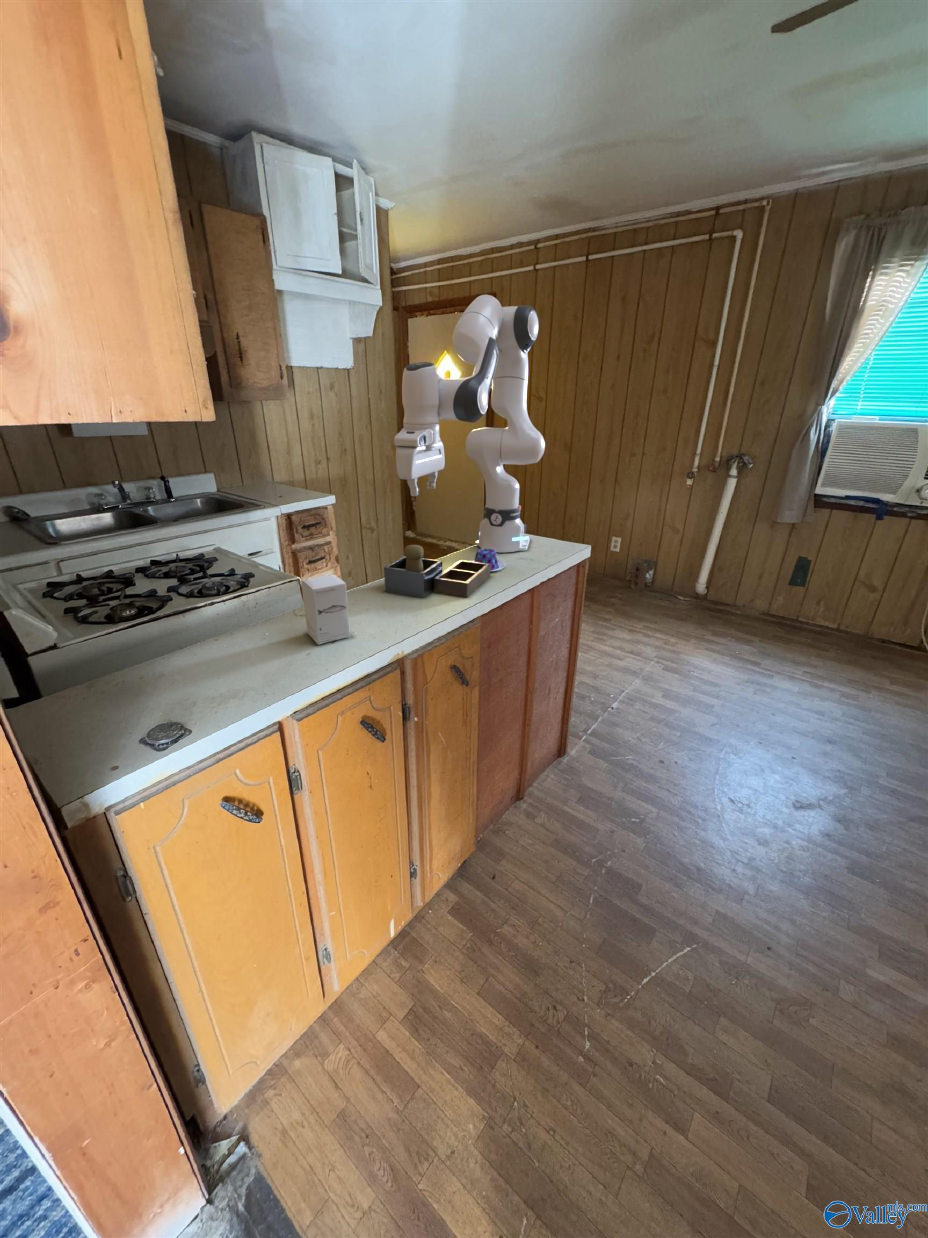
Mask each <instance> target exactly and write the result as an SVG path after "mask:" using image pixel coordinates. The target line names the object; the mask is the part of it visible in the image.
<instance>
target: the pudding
mask: <svg viewBox="0 0 928 1238" xmlns="http://www.w3.org/2000/svg"><path fill="white" fill-rule="evenodd" d="M471 561H472V562H480V563H487V564H491V572H495V571H500V570H503V569H505V567H506V563H505V562H503V561H501V560H498V555H497V552H495V550H492V549H482V548H479V549H478V550H477V551H476V552H475V556H474V559H473V560H471Z"/></svg>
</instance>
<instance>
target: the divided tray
mask: <svg viewBox="0 0 928 1238" xmlns="http://www.w3.org/2000/svg"><path fill="white" fill-rule="evenodd" d="M472 561H473V560H464V559H459V560H458V561H456V562H455V563H454V564H452V565H451V566H449V567H448V568H446V569H445V570H444V571H442V573H441V574H439V575H438V576H437V577H435V578H434V591H433V593H436V594H441V595H442V594H443V595H448V596H454V597H461V598H469V597H470V596H471V595H472V594H473V593H474V592H475V591H476V590H478V589H479V588H480V587H481V586H482V585H483V584H485V582H486V581H488V580H489V579H490V578H491V572H492V571H491V564H487V563H480V562H472Z"/></svg>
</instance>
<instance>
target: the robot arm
mask: <svg viewBox="0 0 928 1238" xmlns="http://www.w3.org/2000/svg"><path fill="white" fill-rule="evenodd" d="M539 323H540V322H539V316H538V314H537V312H536V310H535V309H534V308H533V306H530V305H525V304H519V305H518V306H517V305H514V306H513V305H511V306H502V304H501V303H500V301H499V300H498V299H497V298H496V297H494V296H493V295H490V294H481V295H479V296H477V297H476V298H475V299H474V300H473V301H472V302H471V303H470V304H469V305H468V306H467V308H466V309H465V310H464V311H463V313H462V314H461V316H460V318H459V320H458V321H457V323H456V325H455V327H454V329H453V333H452V346H453V348H454V350H455V352H456V354H457V355H458V357H459V358H460V359H461V360H462V361H463V362H465V363H467V364H469V365H472V366H475V367H474V369H473V373H472V375H471V376H468V377H463V378H443V377H442V376H441V375H439V374H438V372H437V368H436V364H435V363H433V362H430V361H429V362H427V361H421V362H413V363H410V364H408V365H406V366H405V367H404V369H403V373H402V381H401V401H402V402H401V403H402V407H403V411H404V413H403V414H404V415H403V420H402V421H403V423H402V425H403V426H402V427H403V428H401V430H400V431H399V432H398V433H397V434H396V435H395V436H394V438H393V444H394V446H395V447H396V450H395V464H396V474H397V477H398V478H399V479H400V480H405V481H406V483H407V485H408V487H409V491H410V496H411V497H417V496H419V495H420V488H419V487H418V484H417V483H418V478H420V477H423V476H427V475H428V481H427V482H426V489H427V490H435V489H436V482H437V478H438V471H442V470H444V468H445V465H446V460H445V457H446V456H445V446H444V442H443V441H442V440H441V437H440V420H441V421H460V422H465V423H472V424H474V423H477V422H478V421H480V420H481V419H482V418H483V417H484V415H485V414H486V413H487V410H488V406H489V398H490V406H491V409H492V410H493V411H494V413H496V414H497V415H498V416H500V417H502V418H504V419H505V420H506V421H507V427H480V428H476V429H472V430H471V431H469V433H468V434H467V437H466V439H465V447H464V449H465V452H466V455H467V456H468V458H469V459H470V461H472V462H473V463H474V464H475V465H476V466H477V467H478V469H479V471H480V472H481V474H482V477H483V479H484V484H485V506H484V510H483V514H484V515H483V517H484V518H483V519H482V520H481V521H480V523H479V532H478V540H475V541H474V545H475V546H477V547H479V549H492V550H495V552H496V553H513V552H525V551H527V550H528V548H529V544H530V541H531V539H530V536H528V535H527V536H526V535H525V533H527V530H528V529H527V528H528V527H527V526H528V525H527V524H524V523H523V521H522V520H521V510H522V506H521V505H520V488H521V487H520V483H519V482H518V480H517V479H516V478H515V477H513V476H512V475H510V474H509V473H507V472H506V470H505V469H504V465H518V466H521V465H522V466H525V465H531V464H537V463H538V462H539V461H540V460H541V459H542V457H543V456H544V453H545V451H546V450H545V449H546V441H545V439H544V438H545V437H544V436H543V434H542V433H541V432H540V431H539V430H538V429H537V428H536V427H535V426H534V425H533V423H532V421H531V419H530V417H529V413H528V407H527V406H528V405H527V402H528V401H527V399H528V398H527V397H528V385H529V355H528V352H529V351H530V349H531V348H532V346H534V344H535V341H536V340H537V337H538V334H539V328H540V326H539V325H540V324H539ZM490 391H491V397H490Z"/></svg>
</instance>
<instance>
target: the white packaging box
mask: <svg viewBox="0 0 928 1238" xmlns="http://www.w3.org/2000/svg"><path fill="white" fill-rule="evenodd" d="M300 583H301V584H300V585H301V591H302V599H303V608H304V615H305V623H306V631H307V634H308V635H309V636H310V637H311V639H312V640H313V641H314V642H315V643H316V644H317V645H323V644H325V643H326V644H327V643H329V642H334V641H338V640H343V639H348V638H351V628H350V618H349V608H348V607H349V606H348V594H347V583H346V582H345V581H344V580H342V579H341V578H340V577H338V576H337V575H336V574H335V573H333V574H327V575H322V576H317V577H309V578H304V579H301V580H300Z"/></svg>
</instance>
